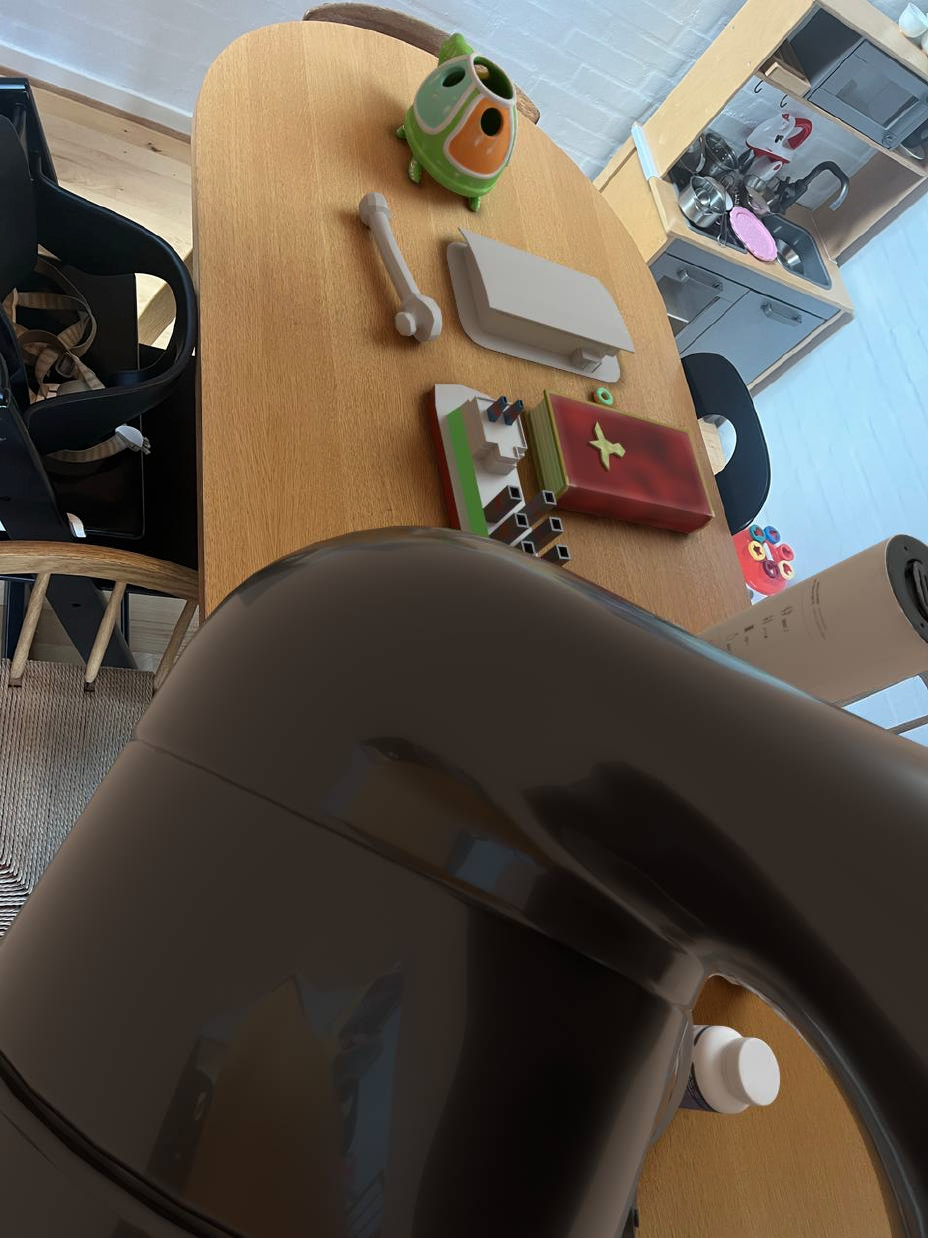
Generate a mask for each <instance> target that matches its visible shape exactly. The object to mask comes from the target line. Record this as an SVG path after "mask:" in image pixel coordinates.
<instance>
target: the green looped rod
mask: <svg viewBox="0 0 928 1238" xmlns="http://www.w3.org/2000/svg"><path fill="white" fill-rule="evenodd" d="M592 396H593V399H594V401H595V403H596V404H600V405H603V406H606V407H611V406H612V405H613V402H614V399H613V398H614V397H613V395H612V393H610V391H608V389H606V388H605V387H598V388H596V390H595V391H594V392H593V395H592Z"/></svg>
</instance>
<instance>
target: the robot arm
mask: <svg viewBox="0 0 928 1238" xmlns="http://www.w3.org/2000/svg"><path fill="white" fill-rule="evenodd" d="M539 557H540V556H538V557H537V556H534V555H532V554H530V553H527V552H525V551H522V550H520V549H517V548H515V547H512V546H510V545H508V544H505V543H503V542H500V541H498V540H495V539H491V538H488V537H484V536H481V535H477V534H473V533H470V532H465V531H460V530H454V529H452V528H448V527H442V526H441V527H440V526H431V525H430V526H428V525H391V526H383V527H375V528H368V529H362V530H355V531H350V532H346V533H343V534H340V535H336V536H333V537H329V538H325V539H323V540H319V541H315V542H313V543H310V544H308V545H305V546H303V547H301V548H299V549H297V550H295V551H292V552H289V553H287V554H285V555H282V556H280V557H279V558H277V559H275V560H274V561H272V562H270V563H268V564H267V565H265V566H263V567H262V568H260V569H259V570H257V571H255V572H253V573H252V574H251V575H250V576H248V577H247V578H246V579H245V580H244V581H242V582H241V583H240V584H239V585H238V586H236V587H235V588H234V589H232V590H231V591H230V592H228V594H227V595H226V596H225V597H224V598H223V599H222V600H221V602H219V604H218V605H217V606H216V607H215V608H214V609H213V610H212V612H210V614H209V615H208V616H207V617H206V618H205V619H204V620H203V621H202V622H201V624H200V625H199V626H198V627H197V629H196V630H195V632H193V635H192V636H191V637H190V638H189V640H188V642H187V643H186V644H185V645H184V647H183V648H182V650H181V652H180V653H179V655H178V656H177V658H176V659H175V661H174V662H173V665H172V666H171V667H170V668H169V670H168V672H167V674H166V675H165V677H164V678H163V680H162V682H161V684H160V685H159V687H157V688H158V689H157V690H156V691H155V693H154V695H153V696H152V698H151V699H150V701H149V703H148V705H147V706H146V708H145V709H144V711H143V713H142V714H141V716H140V717H139V719H138V720H137V721H136V724H135V725H134V727H133V728H132V729H131V734H132V737H133V738H132V739H130V740H128V741H126V742H125V744H124V746H123V747H122V749H121V750H120V751H119V753H118V755H117V756H116V758H115V760H114V761H113V762H112V764H111V766H110V768H109V769H108V771H107V772H106V774H105V775H104V777H103V778H102V780H101V782H100V783H99V784H98V787H97V788H96V789H95V791H94V792H93V794H92V796H91V797H90V799H89V801H88V802H87V803H86V805H85V806H84V808H83V810H82V811H81V813H79V814H80V815H79V816H78V818H77V819H76V821H75V822H74V824H73V825H72V827H71V829H70V830H69V832H68V833H67V835H66V836H65V838H64V840H62V843H61V844H60V846H59V847H58V849H57V851H56V852H55V853H54V855H53V856H52V858H51V860H50V861H49V863H48V865H47V866H46V867H45V869H44V870H43V872H42V874H41V875H40V877H39V879H38V880H37V882H36V883H35V885H34V886H33V888H32V889H31V890H30V892H29V894H28V896H27V897H26V899H25V901H24V902H23V903H22V905H21V907H20V908H19V910H18V911H17V912H16V915H15V916H14V918H12V921H11V922H10V924H9V925H8V926H7V929H6V930H5V931H4V934H3V935H1V938H0V1238H636V1237H637V1229H639V1228H640V1212H639V1209H638V1189H639V1188H638V1187H639V1185H638V1184H639V1181H640V1178H641V1175H642V1172H643V1169H644V1166H645V1163H646V1159H647V1156H648V1153H649V1150H650V1149H651V1148H652V1147H653V1146H654V1145H655V1143H656V1142H657V1141H658V1140H659V1139H660V1138H661V1137H662V1136H663V1134H664V1133H665V1132H666V1129H667V1128H668V1127H669V1125H670V1124H671V1122H672V1121H673V1119H674V1117H675V1115H676V1114H677V1111H678V1109H679V1108H678V1107H679V1105H680V1103H681V1101H682V1098H683V1095H684V1092H685V1089H686V1086H687V1083H688V1080H689V1075H690V1070H691V1065H692V1058H693V1049H694V1026H693V1025H694V1018H693V1012H692V1011H694V1010H695V1007H696V1004H697V1003H698V1000H699V998H700V996H701V994H702V991H703V989H704V987H705V984H706V982H707V981H708V980H709V979H710V978H711V977H714V976H721V977H723V976H724V977H726V978H728V979H731V980H732V981H734V982H736V983H738V984H739V985H738V986H741V987H743V988H745V990H747V991H749V992H750V993H751V994H753V995H754V996H756V997H757V998H758V999H760V1000H761V1001H762V1002H763V1003H764V1004H766V1005H767V1006H768V1007H769V1008H770V1009H771V1010H772V1011H774V1013H775V1014H777V1016H779V1017H780V1018H781V1019H782V1020H783V1021H785V1022H786V1024H788V1025H789V1026H790V1027H791V1028H792V1029H793V1030H794V1031H795V1032H796V1033H797V1035H798V1036H799V1037H800V1038H801V1039H802V1040H803V1041H804V1042H805V1044H806V1045H807V1046H808V1047H809V1049H810V1050H811V1051H812V1053H813V1054H814V1056H815V1057H816V1059H817V1060H818V1061H819V1063H820V1064H821V1066H822V1067H823V1069H824V1070H825V1072H826V1073H827V1075H828V1077H830V1079H831V1080H832V1082H833V1085H835V1087H836V1089H837V1091H838V1093H839V1094H840V1096H841V1098H842V1100H843V1101H844V1103H845V1105H846V1107H847V1109H848V1111H849V1113H850V1115H851V1117H852V1119H853V1121H854V1123H855V1125H856V1127H857V1129H858V1132H859V1134H860V1137H861V1138H862V1142H863V1145H864V1147H865V1150H866V1152H867V1156H868V1157H869V1160H870V1163H871V1166H872V1168H873V1171H874V1174H875V1177H876V1180H877V1185H878V1189H879V1191H880V1195H881V1199H882V1203H883V1206H884V1209H885V1213H886V1217H887V1220H888V1224H889V1229H890V1230H889V1231H890V1235H891V1238H928V746H926V745H923V744H921V743H919V742H916V741H914V740H912V739H910V738H907V737H904V736H902V735H901V734H898V733H895V732H894V731H891V730H889V729H887V728H885V727H883V726H881V725H878V724H876V723H874V722H872V721H870V720H868V719H866V718H864V717H861V716H859V715H857V714H856V713H853V712H851V711H849V710H848V709H845V708H843V707H841V706H839V705H837V704H835V703H830V702H828V701H826V700H824V699H822V698H820V697H818V696H816V695H814V694H812V693H810V692H807V691H805V690H803V689H801V688H799V687H797V686H795V685H793V684H791V683H789V682H787V681H785V680H782V679H780V678H778V677H776V676H774V675H772V674H770V673H768V672H766V671H764V670H762V669H759V668H757V667H756V666H754V665H752V664H750V663H748V662H746V661H744V660H742V659H740V658H738V657H736V656H734V655H733V654H731V653H729V652H727V651H725V650H723V649H721V648H719V647H717V646H715V645H713V644H711V643H710V642H708V641H706V640H704V639H702V638H700V637H698V636H696V635H695V634H694V633H693V632H690V631H689V630H688V631H689V632H688V631H686V630H685V629H686V628H685V629H683V628H684V627H683V628H681V627H682V626H681V627H679V626H680V625H679V626H677V625H678V624H677V625H675V624H676V623H675V624H673V623H674V622H673V623H671V622H672V621H671V622H669V621H670V620H668V621H667V619H665V618H663V617H661V616H660V615H659V614H656V613H654V612H653V611H650V610H648V609H647V608H644V607H642V606H640V605H638V604H637V603H635V602H633V601H631V600H629V599H627V598H625V597H623V596H621V595H619V594H617V593H615V592H613V591H611V590H609V589H607V588H605V587H603V586H601V585H599V584H597V583H595V582H593V581H591V580H589V579H587V578H586V577H583V576H582V575H579V574H577V573H575V572H573V571H571V570H569V569H567V568H565V567H563V566H562V567H561V566H559V565H557V564H554V563H552V562H549V561H547V560H544V559H542V558H539ZM724 977H723V978H724Z"/></svg>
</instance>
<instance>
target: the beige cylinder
mask: <svg viewBox="0 0 928 1238" xmlns="http://www.w3.org/2000/svg"><path fill="white" fill-rule="evenodd" d="M694 635H696V636H698V637H700V638H702V639H704V640H706V641H708V642H710V643H711V644H713V645H715V646H717V647H719V648H721V649H723V650H725V651H727V652H729V653H731V654H733V655H734V656H736V657H738V658H740V659H742V660H744V661H746V662H748V663H750V664H752V665H754V666H756V667H757V668H759V669H762V670H764V671H766V672H768V673H770V674H772V675H774V676H776V677H778V678H780V679H782V680H785V681H787V682H789V683H791V684H793V685H795V686H797V687H799V688H801V689H803V690H805V691H807V692H810V693H812V694H814V695H816V696H818V697H820V698H822V699H824V700H826V701H828V702H830V703H832V704H835V703H837V702H839V701H840V702H841V701H843V700H845V699H849V698H851V697H854V696H856V695H859V694H863V693H866V692H868V691H872V690H875V689H877V688H880V687H883V686H886V685H889V684H891V683H895V682H897V681H900V680H903V679H907V678H909V677H912V676H915V675H918V674H920V673H923V672H926V671H928V545H927V544H926V543H925V542H924V541H922V540H921V539H918V538H917V537H916V536H913V535H910V534H908V533H901V532H898V533H896V534H893V535H891V536H889V537H887V538H885V539H884V540H882V541H879V542H878V543H876V544H873V545H871V546H870V547H868V548H865V549H863V550H861V551H860V552H859V551H858V552H857V553H856V554H853V555H851V556H849V557H847V558H845V559H843V560H841V561H839V562H837V563H835V564H833V565H831V566H829V567H827V568H825V569H823V570H821V571H819V572H817V573H815V574H813V575H811V576H809V577H807V578H805V579H803V580H801V581H799V582H796V583H794V584H793V585H791V586H789V587H786V588H785V589H783V590H780V591H779V592H777V593H775V594H773V595H771V596H769V597H767V598H765V599H763V600H761V601H759V602H757V603H755V604H753V605H751V606H749V607H747V608H745V609H743V610H741V611H738V612H737V613H734V614H733V615H731V616H728V617H727V618H725V619H723V620H721V621H719V622H717V623H715V624H713V625H711V626H709V627H707V628H705V629H703V630H701V631H699V632H697V633H695V634H694Z"/></svg>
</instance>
